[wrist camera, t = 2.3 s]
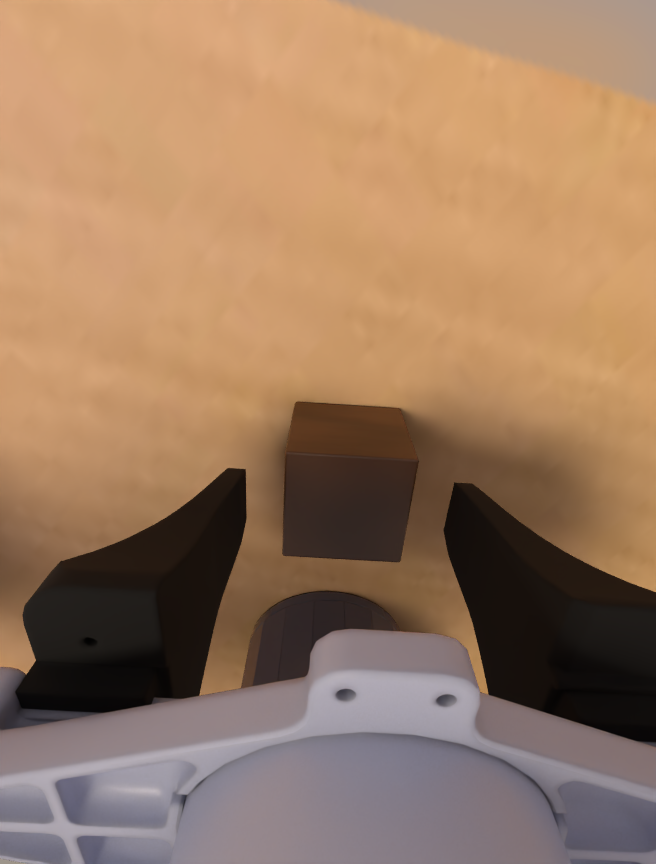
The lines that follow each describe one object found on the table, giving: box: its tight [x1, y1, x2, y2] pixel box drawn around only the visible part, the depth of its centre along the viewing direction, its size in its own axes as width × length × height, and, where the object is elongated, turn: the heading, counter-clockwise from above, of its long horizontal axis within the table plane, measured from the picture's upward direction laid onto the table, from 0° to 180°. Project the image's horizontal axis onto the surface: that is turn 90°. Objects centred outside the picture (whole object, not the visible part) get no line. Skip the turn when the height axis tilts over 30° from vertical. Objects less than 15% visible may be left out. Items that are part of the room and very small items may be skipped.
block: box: [282, 402, 419, 562], centre depth 16 cm, size 4×4×4 cm
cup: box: [241, 591, 400, 688], centre depth 20 cm, size 8×8×7 cm
